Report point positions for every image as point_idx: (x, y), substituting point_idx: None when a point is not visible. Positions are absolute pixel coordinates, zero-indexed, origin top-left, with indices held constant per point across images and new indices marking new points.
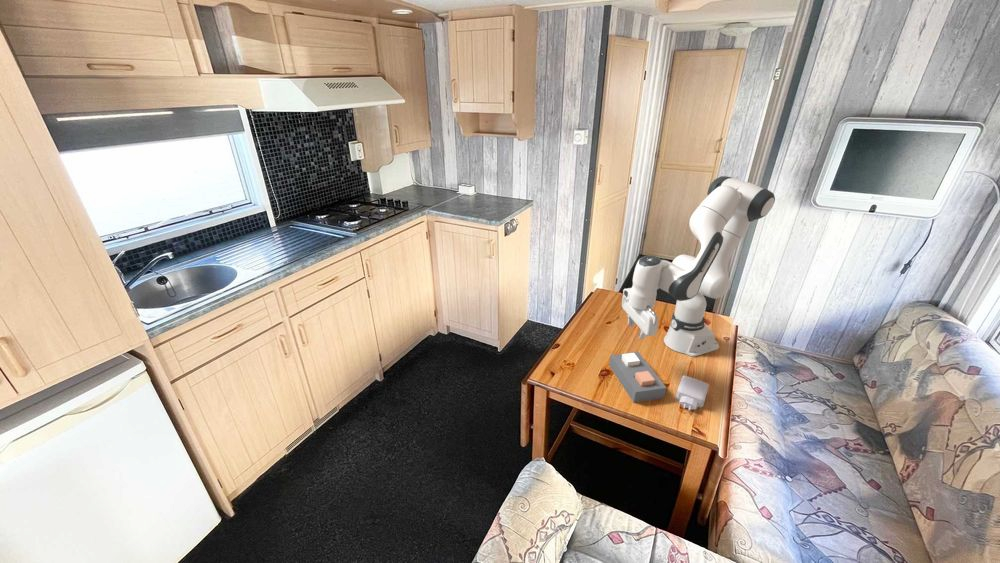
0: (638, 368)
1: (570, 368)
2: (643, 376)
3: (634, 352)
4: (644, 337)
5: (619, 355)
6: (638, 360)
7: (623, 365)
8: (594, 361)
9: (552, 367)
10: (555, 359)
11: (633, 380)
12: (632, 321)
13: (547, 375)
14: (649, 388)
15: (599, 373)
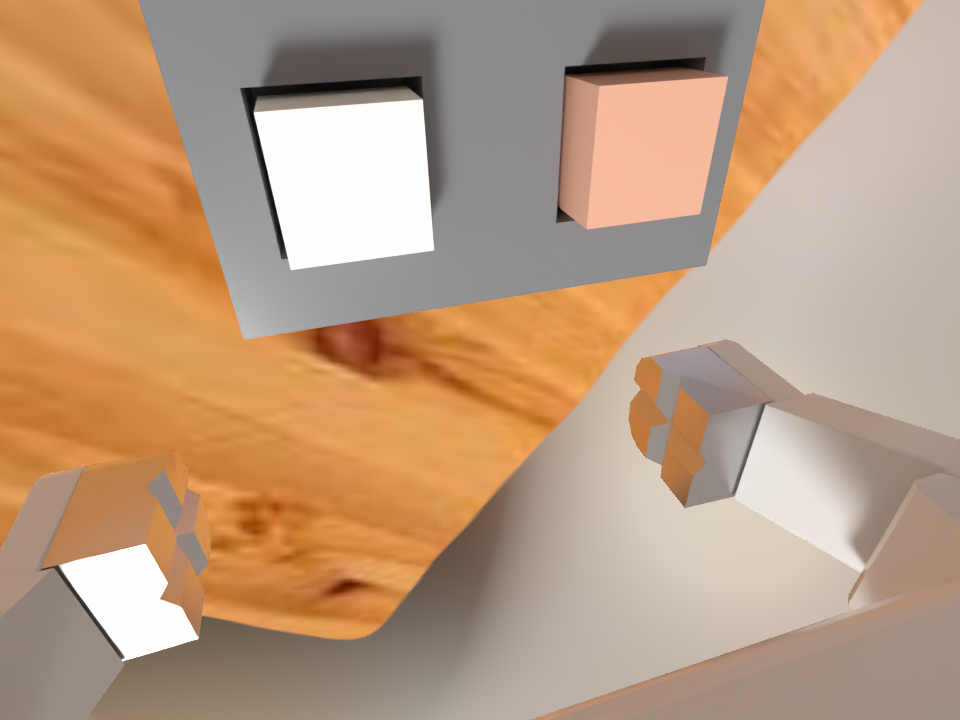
0: (467, 127)
1: (298, 518)
2: (651, 174)
3: (155, 40)
4: (741, 347)
5: (241, 255)
6: (416, 118)
7: (408, 263)
8: (206, 381)
9: (290, 591)
10: (207, 585)
11: (601, 239)
12: (94, 592)
13: (358, 603)
14: (719, 141)
15: (354, 370)
